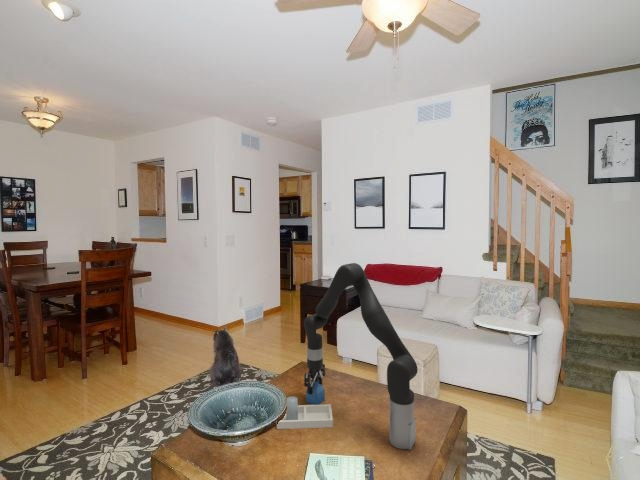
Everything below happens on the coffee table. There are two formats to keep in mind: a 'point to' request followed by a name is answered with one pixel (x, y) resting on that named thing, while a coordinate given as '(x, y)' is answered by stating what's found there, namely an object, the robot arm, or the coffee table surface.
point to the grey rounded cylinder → (292, 408)
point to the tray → (309, 417)
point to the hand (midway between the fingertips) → (315, 390)
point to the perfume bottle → (316, 393)
